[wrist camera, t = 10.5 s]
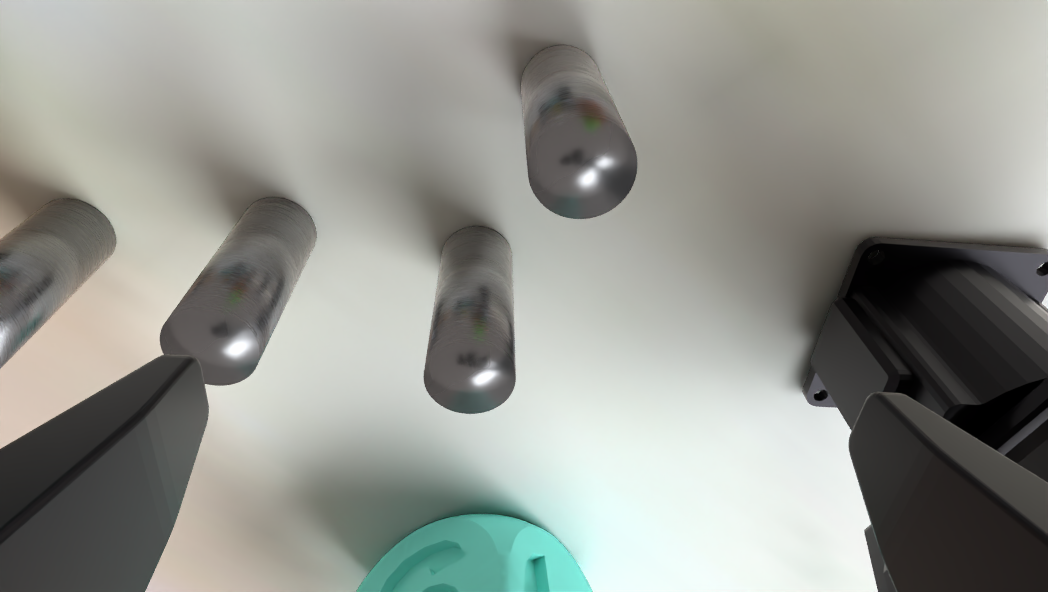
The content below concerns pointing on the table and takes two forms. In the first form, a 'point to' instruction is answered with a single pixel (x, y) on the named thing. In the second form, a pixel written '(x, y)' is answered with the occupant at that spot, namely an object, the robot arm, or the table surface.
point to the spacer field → (290, 235)
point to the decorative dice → (477, 559)
